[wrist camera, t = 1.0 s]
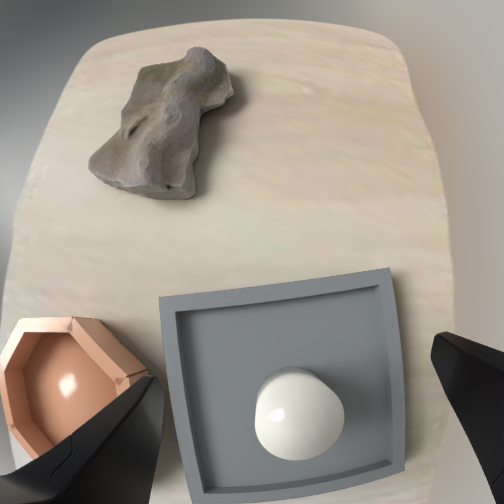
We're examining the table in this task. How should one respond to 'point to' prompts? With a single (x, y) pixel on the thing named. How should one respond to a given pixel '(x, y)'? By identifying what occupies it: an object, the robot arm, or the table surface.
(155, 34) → the table surface
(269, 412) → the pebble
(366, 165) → the table surface
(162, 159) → the stone
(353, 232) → the table surface
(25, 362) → the bowl
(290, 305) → the parts tray
